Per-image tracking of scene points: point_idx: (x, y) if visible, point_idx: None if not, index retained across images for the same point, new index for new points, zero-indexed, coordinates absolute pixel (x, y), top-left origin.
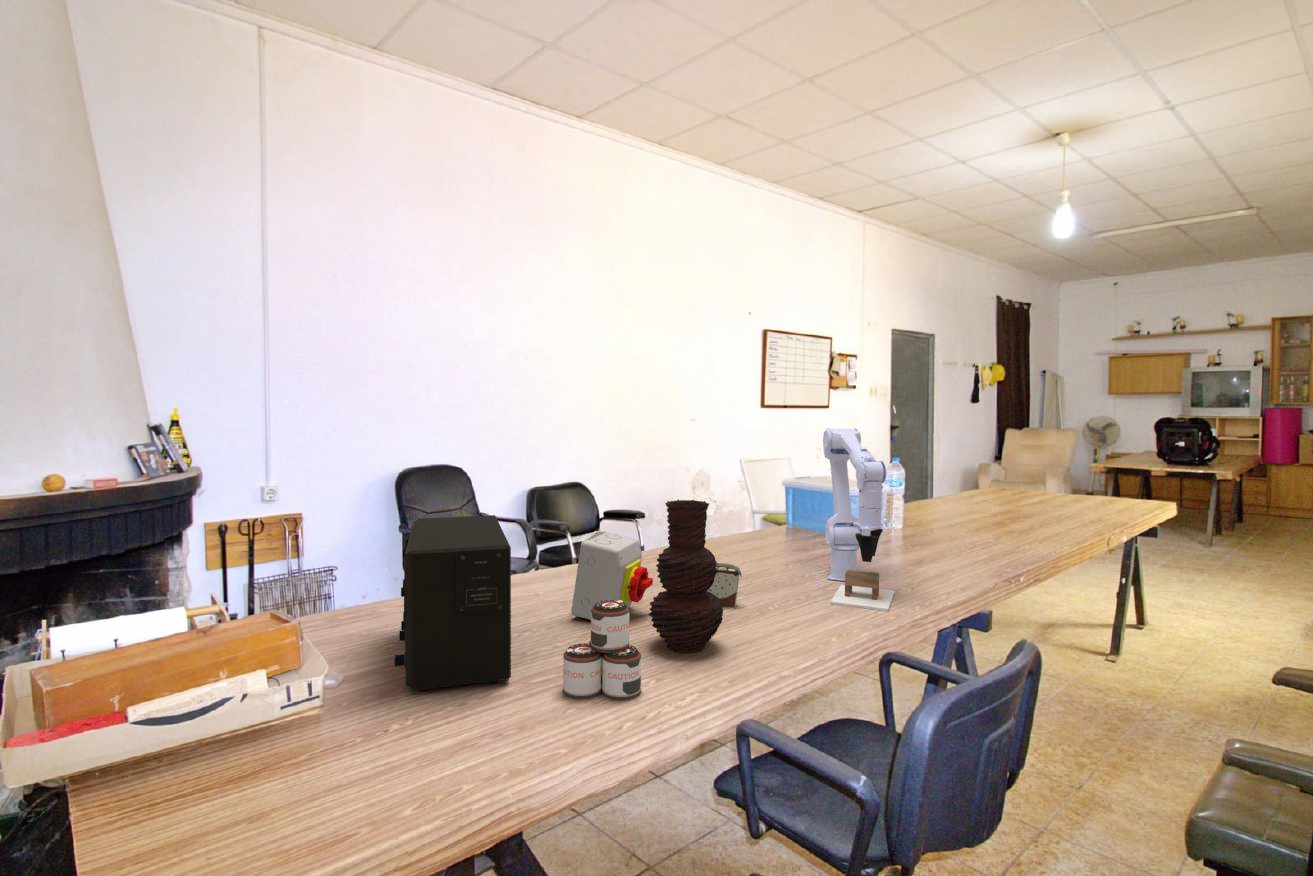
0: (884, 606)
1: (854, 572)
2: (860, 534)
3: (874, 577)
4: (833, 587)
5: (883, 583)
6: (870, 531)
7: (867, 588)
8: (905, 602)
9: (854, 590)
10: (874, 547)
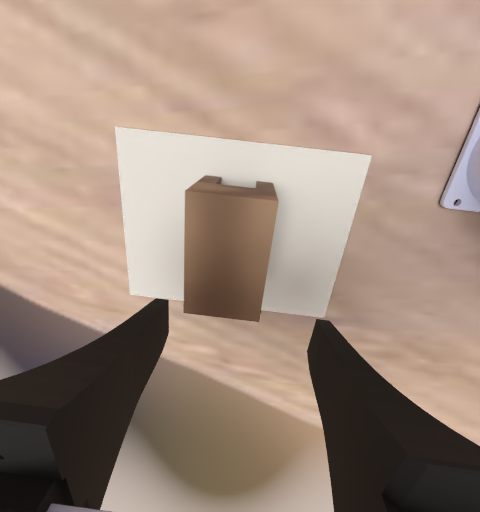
0: (147, 286)
1: (225, 232)
2: (2, 454)
3: (184, 302)
4: (355, 122)
5: (438, 291)
6: (366, 509)
7: (333, 247)
8: (235, 330)
9: (295, 206)
10: (320, 392)
